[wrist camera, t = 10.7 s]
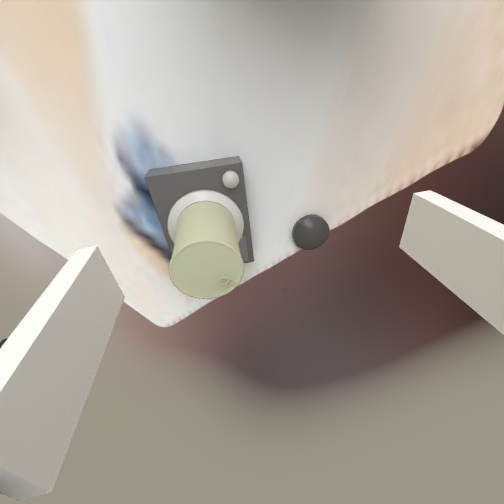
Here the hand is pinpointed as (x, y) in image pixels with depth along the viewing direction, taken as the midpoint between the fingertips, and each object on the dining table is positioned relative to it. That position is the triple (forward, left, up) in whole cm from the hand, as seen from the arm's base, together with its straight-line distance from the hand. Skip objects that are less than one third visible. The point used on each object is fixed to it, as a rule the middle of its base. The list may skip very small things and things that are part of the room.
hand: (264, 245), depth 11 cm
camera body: (+13, -5, -33) cm, 36 cm away
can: (+13, -5, -28) cm, 31 cm away
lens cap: (+20, +14, -33) cm, 41 cm away
